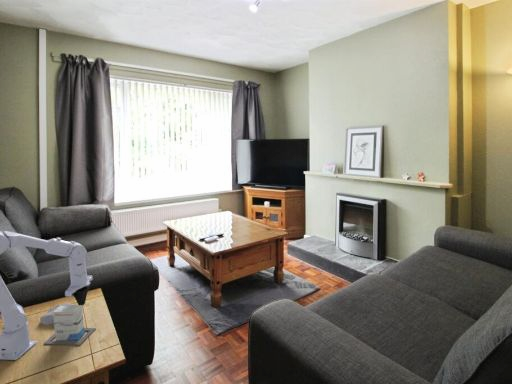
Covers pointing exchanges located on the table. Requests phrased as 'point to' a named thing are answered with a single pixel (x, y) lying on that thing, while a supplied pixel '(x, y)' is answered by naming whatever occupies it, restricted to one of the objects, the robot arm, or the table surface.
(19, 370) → the table surface
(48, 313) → the stone block
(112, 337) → the table surface
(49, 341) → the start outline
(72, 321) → the ink box
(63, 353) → the table surface
